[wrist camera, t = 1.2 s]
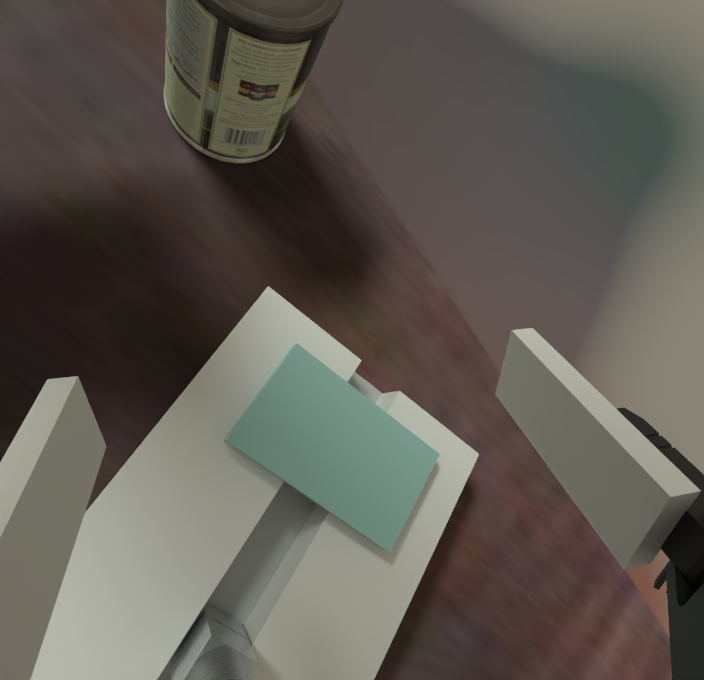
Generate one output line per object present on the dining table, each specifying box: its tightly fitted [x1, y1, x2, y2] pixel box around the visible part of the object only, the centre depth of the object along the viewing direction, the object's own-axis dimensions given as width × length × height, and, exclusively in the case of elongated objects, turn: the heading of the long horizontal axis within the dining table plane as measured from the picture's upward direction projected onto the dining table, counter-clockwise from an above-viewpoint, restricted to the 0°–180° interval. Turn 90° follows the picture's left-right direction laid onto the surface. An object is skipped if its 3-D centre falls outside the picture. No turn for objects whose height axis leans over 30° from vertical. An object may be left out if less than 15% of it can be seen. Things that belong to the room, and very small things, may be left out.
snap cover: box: [224, 343, 440, 553], centre depth 32 cm, size 14×8×1 cm, turn 57°
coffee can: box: [164, 0, 343, 163], centre depth 32 cm, size 10×10×14 cm
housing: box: [31, 286, 479, 680], centre depth 31 cm, size 22×28×4 cm
